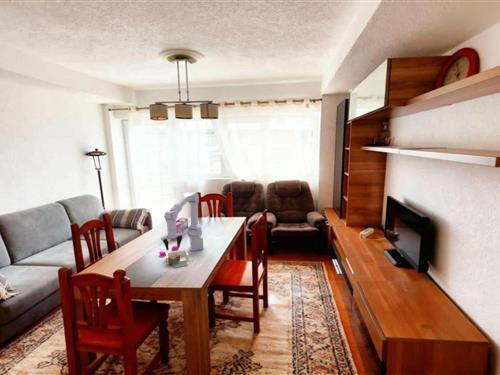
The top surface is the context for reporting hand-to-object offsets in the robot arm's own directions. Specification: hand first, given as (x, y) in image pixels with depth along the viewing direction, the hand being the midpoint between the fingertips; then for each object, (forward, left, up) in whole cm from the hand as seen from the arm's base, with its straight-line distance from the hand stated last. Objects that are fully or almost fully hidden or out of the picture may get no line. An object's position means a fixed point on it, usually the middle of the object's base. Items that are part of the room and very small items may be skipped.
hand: (173, 248), depth 180 cm
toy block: (+2, -22, -15) cm, 27 cm away
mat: (-4, +5, -10) cm, 12 cm away
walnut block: (-3, -3, -8) cm, 9 cm away
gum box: (-10, -57, -11) cm, 59 cm away
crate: (-3, -4, -10) cm, 12 cm away
